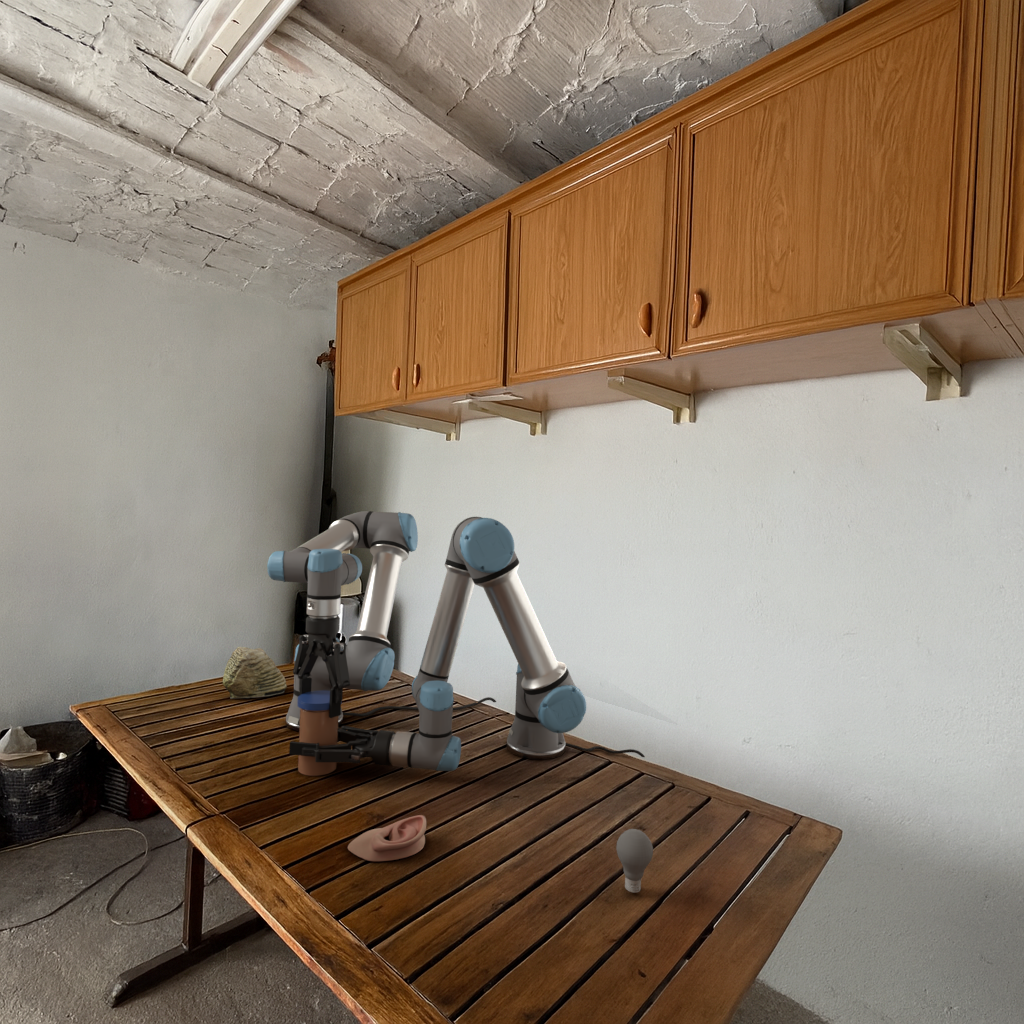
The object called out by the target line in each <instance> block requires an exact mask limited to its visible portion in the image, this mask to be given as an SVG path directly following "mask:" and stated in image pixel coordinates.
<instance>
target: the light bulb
mask: <svg viewBox="0 0 1024 1024" xmlns="http://www.w3.org/2000/svg"><path fill="white" fill-rule="evenodd" d="M615 849H616V854H617V857H618V859H619V861H620V863H621V865H622V867H623V873H624V874H623V875H624V876H625V878H624V888H625V890H627V891H628V892H630V893H634V894H635V893H639V892H640V891H641V889H642V887H641V886H642V879H643V877H644V875H645V871H646V868H647V867H648V866H649V864H650V863H651V861H652V859H653V855H654V847H653V843H652V841H651V838H649V836H648V835H647V834H646V833H645V832H643V831H642V830H641V829H636V828H629V829H627V830H625V831H623V832H622V833H621V834H620V835H619V837H618V839H617V841H616V847H615Z"/></svg>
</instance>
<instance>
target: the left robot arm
mask: <svg viewBox="0 0 1024 1024" xmlns="http://www.w3.org/2000/svg"><path fill="white" fill-rule="evenodd" d="M418 533H419V532H418V526H417V522H416V518H415V516H414V515H413V514H411V513H407V512H401V511H398V512H394V511H393V512H391V511H390V512H389V511H372V510H362V511H358V512H354V513H350V514H348V515H345V516H343V517H340V518H338V519H337V520H335V521H333V522H332V523H331V524H330V525H329V527H328V529H326V530H325V531H322V532H321V533H319V534H318V535H316V536H314V537H312V538H311V539H309V540H307V541H306V542H304V543H302V544H301V545H299V546H297V547H295V548H294V549H292V550H290V551H289V550H288V551H287V550H276V551H273V552H272V553H271V554H270V555H269V557H268V560H267V566H266V567H267V575H268V576H269V578H270V579H271V580H273V581H277V582H283V583H301V584H302V583H304V584H307V594H306V615H308V616H307V617H306V618H305V632H306V633H307V634H301V635H299V636H298V644H297V645H296V647H295V652H294V653H295V654H294V659H293V661H294V666H293V669H292V673H293V695H292V696H293V697H292V699H291V702H290V704H289V708H288V711H287V713H286V715H285V726H286V728H287V729H289V730H291V731H294V732H295V731H296V732H299V726H300V708H299V707H298V705H297V704H298V697H299V696H300V695H301V694H304V693H307V692H311V691H330V702H329V718H333V717H336V716H339V721H338V727H339V726H340V725H342V723H343V722H344V716H345V717H347V716H348V717H357V718H361V717H362V718H363V717H368V716H370V715H372V714H374V713H377V712H379V711H384V710H402V711H404V710H405V711H406V710H407V711H419V709H418V707H417V706H401V705H400V706H398V705H385V706H380V707H375V708H373V709H371V710H369V711H367V712H363V713H362V712H361V713H357V712H346V711H345V712H343V709H342V704H341V702H342V703H343V697H344V694H343V693H344V689H346V690H357V691H364V692H368V691H370V692H371V691H373V692H374V691H375V692H377V691H381V690H382V689H384V688H385V686H386V685H388V683H389V681H390V680H391V677H392V674H393V671H394V666H395V657H396V655H395V651H394V650H393V649H392V648H391V642H390V641H389V639H388V637H387V636H388V632H389V628H390V621H391V619H392V618H391V617H392V613H393V607H394V603H395V598H396V593H397V589H398V583H399V578H400V574H401V568H402V563H403V562H404V561H407V560H408V558H409V554H410V552H411V553H412V552H415V551H416V550H417V548H418V541H419V540H418V539H419V535H418ZM352 549H367V550H369V553H370V554H371V555H372V562H371V566H370V570H369V574H368V579H367V583H366V588H365V592H364V597H363V601H362V605H361V610H360V613H359V619H358V622H357V627H356V631H355V633H353V634H351V635H350V636H349V637H348V641H347V643H346V642H341V641H340V639H339V638H338V637H337V634H338V633H339V632H340V627H341V625H340V623H341V618H340V616H339V615H340V614H341V599H342V597H341V596H342V586H345V585H350V584H352V583H354V582H355V581H357V580H358V579H359V578H360V577H361V575H362V572H363V564H362V561H361V559H360V558H359V557H358V555H355V554H354V553H345V552H348V551H350V550H352ZM342 552H344V553H342ZM486 701H491V702H493V703H497V700H496V698H493V697H490V696H489V697H484V698H482V699H480V700H478V701H474V702H472V703H468V704H465V705H461V706H456V707H454V706H453V712H454V711H459V710H466V709H468V708H472V707H475V706H478V705H480V704H482V703H484V702H486ZM476 702H478V703H476Z"/></svg>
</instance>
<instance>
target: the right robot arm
mask: <svg viewBox="0 0 1024 1024" xmlns="http://www.w3.org/2000/svg"><path fill="white" fill-rule="evenodd" d="M520 564H521V562H520V561H519V558H518V556H517V554H516V551H515V540H514V537H513V535H512V532H511V531H510V530H509V529H508V527H506V525H504V524H503V523H502V522H500V521H498V520H497V519H495V518H492V517H481V516H470V517H467V518H464V519H462V521H459V523H458V524H457V525H456V526H455V528H454V530H453V531H452V534H451V538H450V541H449V545H448V550H447V554H446V558H445V563H444V567H445V568H446V573H445V577H444V580H443V584H442V589H441V591H440V595H439V599H438V602H437V605H436V608H435V612H434V616H433V619H432V623H431V627H430V630H429V634H428V636H427V640H426V644H425V648H424V651H423V655H422V658H421V661H420V665H419V670H418V673H417V675H416V676H415V678H413V680H412V683H411V694H412V698H413V699H414V701H415V704H416V707H418V709H419V710H418V713H419V714H418V715H419V716H418V717H419V718H418V732H412V731H411V732H410V731H400V730H399V731H398V730H397V731H396V732H395V730H385V729H384V730H383V729H381V730H375V729H374V730H372V729H365V728H360V727H354V726H348V725H341V727H338V744H336V745H324V746H319V743H317V744H315V743H304V742H299V741H290V742H289V751H288V754H289V755H291V756H298V755H301V756H311V757H315V762H337V763H349V764H350V763H351V764H357V765H358V764H360V763H361V759H365V758H371V759H372V762H373V764H374V765H376V766H387V767H389V766H392V767H397V768H398V767H399V768H402V769H404V770H405V769H407V768H409V769H421V770H429V771H436V772H454V771H456V770H457V769H458V767H459V764H460V761H461V755H462V739H461V737H459V736H455V735H453V726H452V725H453V712H454V711H453V708H454V702H455V698H454V687H453V685H452V684H451V683H450V682H448V680H449V677H450V673H451V670H452V666H453V663H454V659H455V656H456V652H457V648H458V645H459V642H460V637H461V634H462V631H463V627H464V624H465V621H466V618H467V613H468V610H469V606H470V602H471V599H472V596H473V592H474V588H475V585H476V586H477V587H481V588H483V590H484V592H485V594H486V597H487V599H488V601H489V603H490V605H491V608H492V609H493V612H494V614H495V616H496V619H497V620H498V622H499V625H500V627H501V630H502V631H503V633H504V636H505V637H506V640H507V643H508V644H509V647H510V648H511V651H512V653H513V655H514V657H515V659H516V661H517V666H516V667H517V668H516V672H515V675H516V683H515V705H514V706H515V709H514V719H513V722H512V724H511V727H510V728H509V730H508V735H507V738H506V749H507V750H508V751H509V752H510V753H511V754H514V755H515V756H517V757H520V758H524V759H530V760H551V759H555V758H558V757H560V756H562V755H563V754H564V753H565V752H566V747H569V748H573V749H577V750H578V751H579V750H580V751H582V752H593V751H595V750H601V751H603V752H606V753H608V754H613V755H620V754H626V753H633V754H634V753H635V754H636V755H639V756H640V757H641V758H646V756H645V755H644V754H643V753H642V752H641V751H639V750H638V749H633V748H631V749H622V750H611V749H609V748H606V747H604V746H601V745H599V746H598V745H595V746H592V747H590V748H586V747H582V746H580V745H576V744H572V743H568V742H566V739H565V736H564V734H565V733H568V732H571V731H572V730H575V728H577V727H578V726H579V725H580V724H581V723H582V721H583V719H584V718H585V715H586V713H587V700H586V697H585V695H584V693H583V691H582V690H581V689H580V688H579V687H578V686H576V685H575V682H574V680H573V678H572V676H571V673H570V671H569V669H568V666H567V664H566V663H565V662H563V661H558V660H557V657H556V656H555V654H554V651H553V649H552V647H551V645H550V643H549V640H548V638H547V636H546V634H545V631H544V630H543V627H542V625H541V623H540V620H539V618H538V616H537V614H536V611H535V610H534V607H533V605H532V603H531V600H530V598H529V596H528V594H527V591H526V589H525V587H524V585H523V582H522V581H521V579H520V577H519V574H518V570H519V567H520ZM339 742H341V743H339Z"/></svg>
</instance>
